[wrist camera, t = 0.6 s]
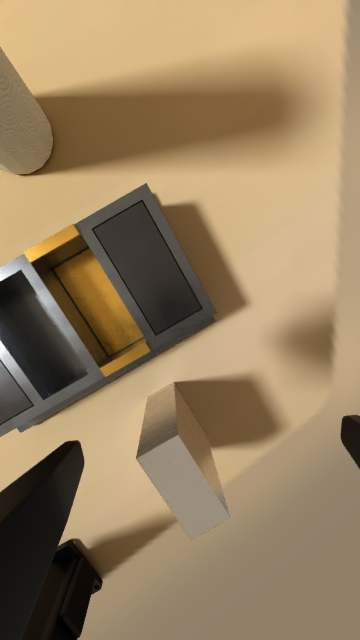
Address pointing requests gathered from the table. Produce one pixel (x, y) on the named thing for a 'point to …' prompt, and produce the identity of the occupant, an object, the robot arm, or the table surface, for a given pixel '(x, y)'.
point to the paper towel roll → (21, 124)
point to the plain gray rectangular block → (181, 462)
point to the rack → (92, 307)
